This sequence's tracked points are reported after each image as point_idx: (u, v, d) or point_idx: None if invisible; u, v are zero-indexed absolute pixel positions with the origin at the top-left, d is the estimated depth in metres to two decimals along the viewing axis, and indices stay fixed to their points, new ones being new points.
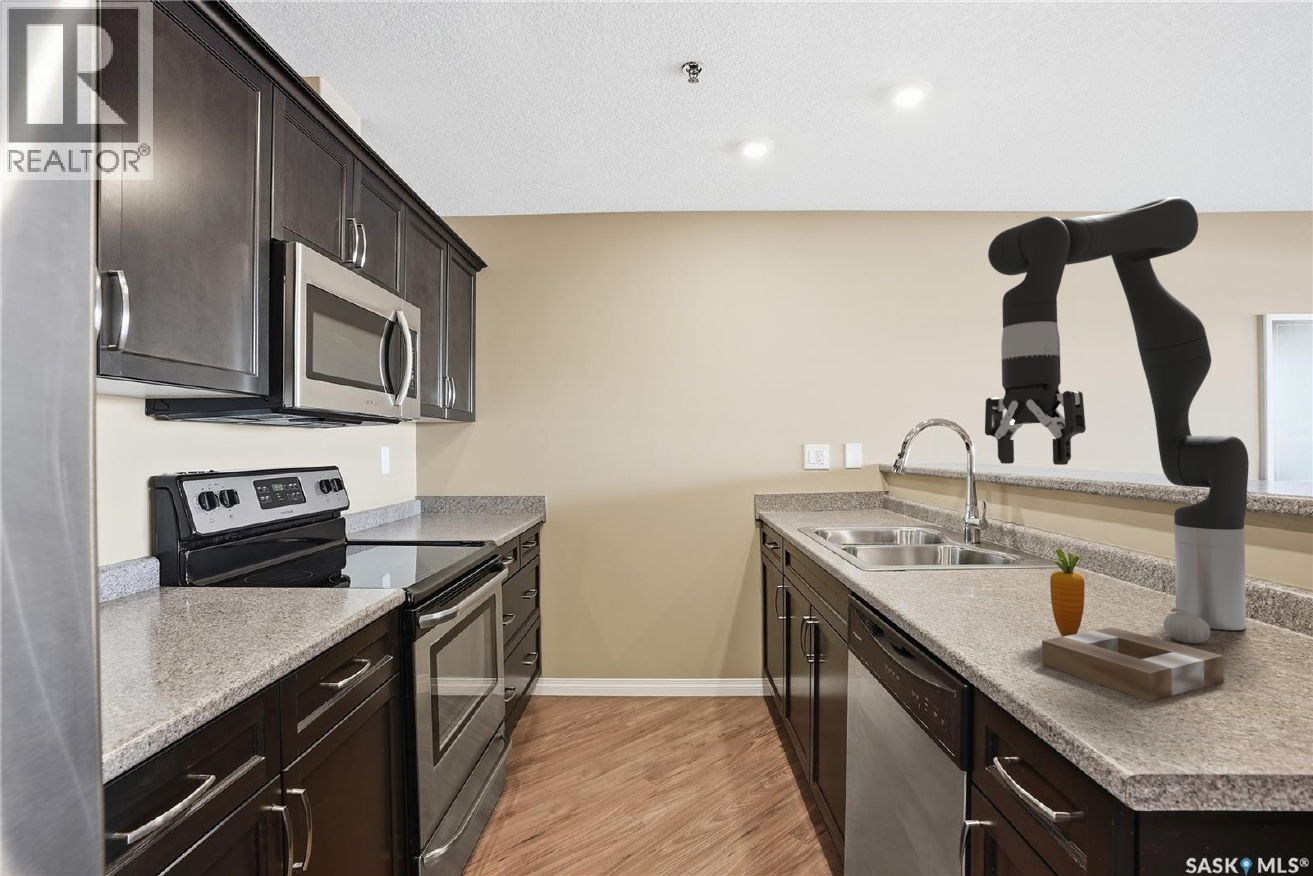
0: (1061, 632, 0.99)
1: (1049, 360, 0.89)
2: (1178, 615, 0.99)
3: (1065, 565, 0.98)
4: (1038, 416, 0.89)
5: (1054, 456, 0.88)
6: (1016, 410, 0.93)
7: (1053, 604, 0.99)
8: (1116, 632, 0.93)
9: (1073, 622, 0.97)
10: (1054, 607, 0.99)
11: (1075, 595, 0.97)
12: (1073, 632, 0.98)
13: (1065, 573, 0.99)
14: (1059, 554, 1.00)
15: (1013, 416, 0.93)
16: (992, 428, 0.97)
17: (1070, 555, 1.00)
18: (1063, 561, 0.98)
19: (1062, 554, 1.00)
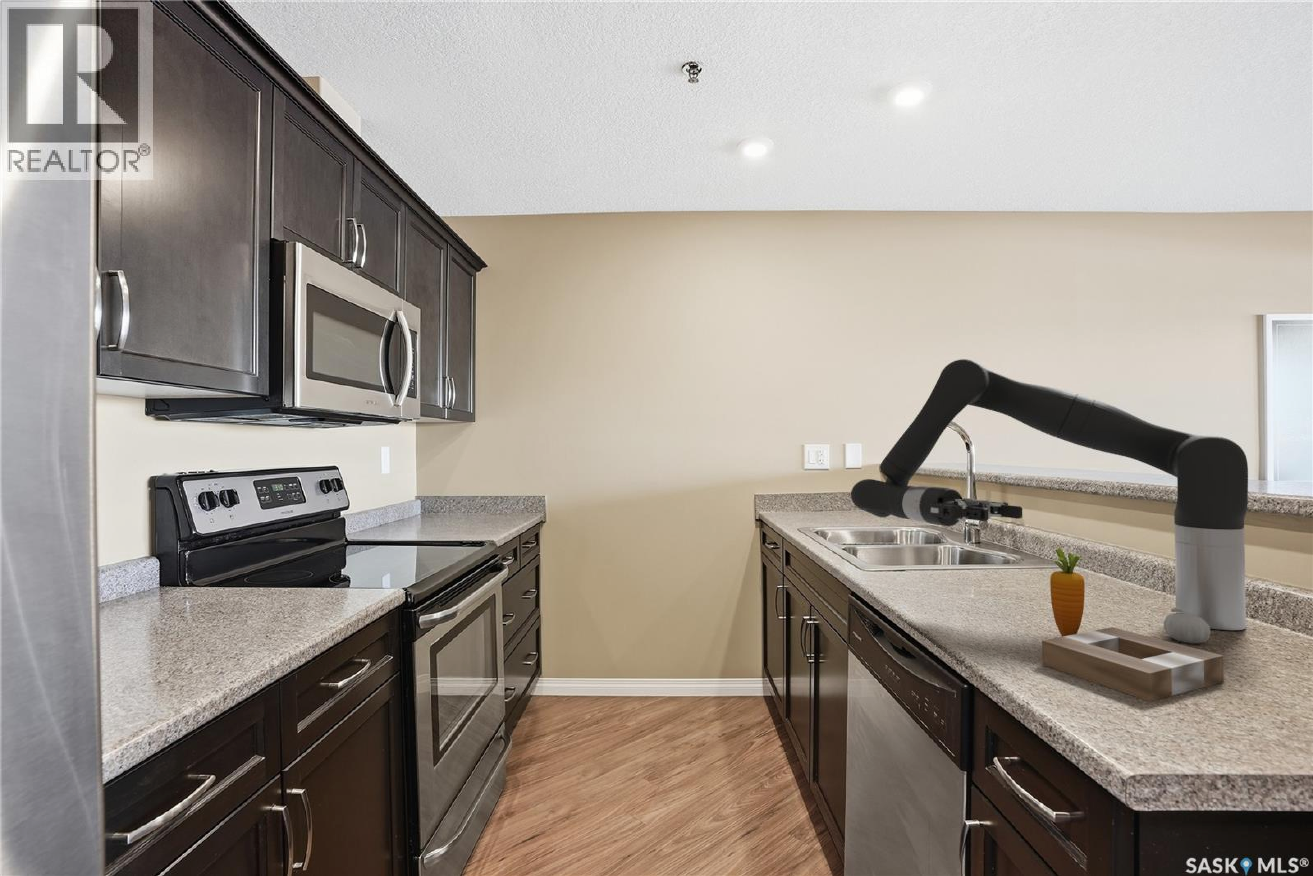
0: (1061, 632, 0.99)
1: (923, 511, 1.22)
2: (1178, 615, 0.99)
3: (1065, 565, 0.98)
4: None
5: (981, 520, 1.09)
6: None
7: (1053, 604, 0.99)
8: (1116, 632, 0.93)
9: (1073, 622, 0.97)
10: (1054, 607, 0.99)
11: (1075, 595, 0.97)
12: (1073, 632, 0.98)
13: (1065, 573, 0.99)
14: (1059, 554, 1.00)
15: None
16: None
17: (1070, 555, 1.00)
18: (1063, 561, 0.98)
19: (1062, 554, 1.00)
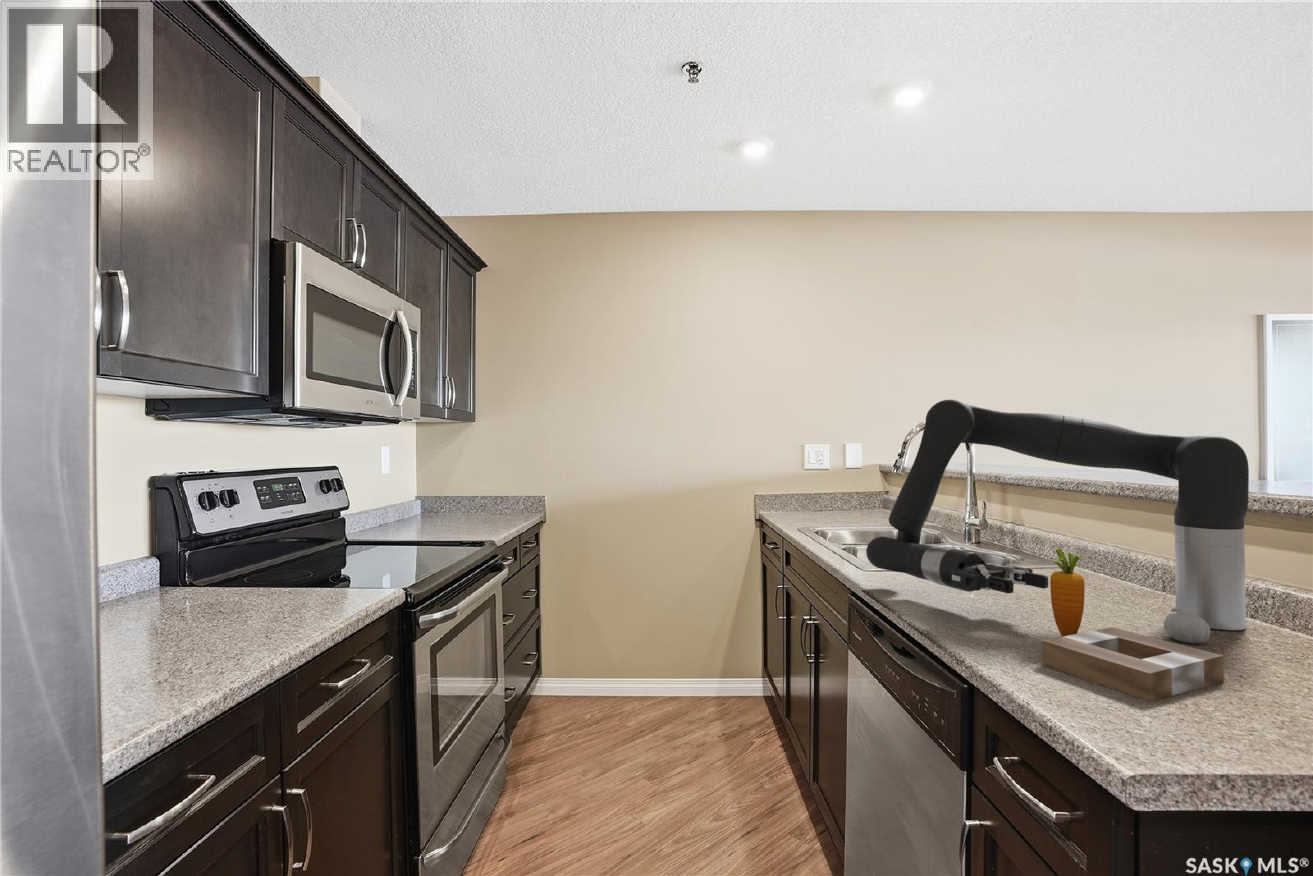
0: (1061, 632, 0.99)
1: (943, 575, 1.18)
2: (1178, 615, 0.99)
3: (1065, 565, 0.98)
4: None
5: None
6: None
7: (1053, 604, 0.99)
8: (1116, 632, 0.93)
9: (1073, 622, 0.97)
10: (1054, 607, 0.99)
11: (1075, 595, 0.97)
12: (1073, 632, 0.98)
13: (1065, 573, 0.99)
14: (1059, 554, 1.00)
15: None
16: None
17: (1070, 555, 1.00)
18: (1063, 561, 0.98)
19: (1062, 554, 1.00)
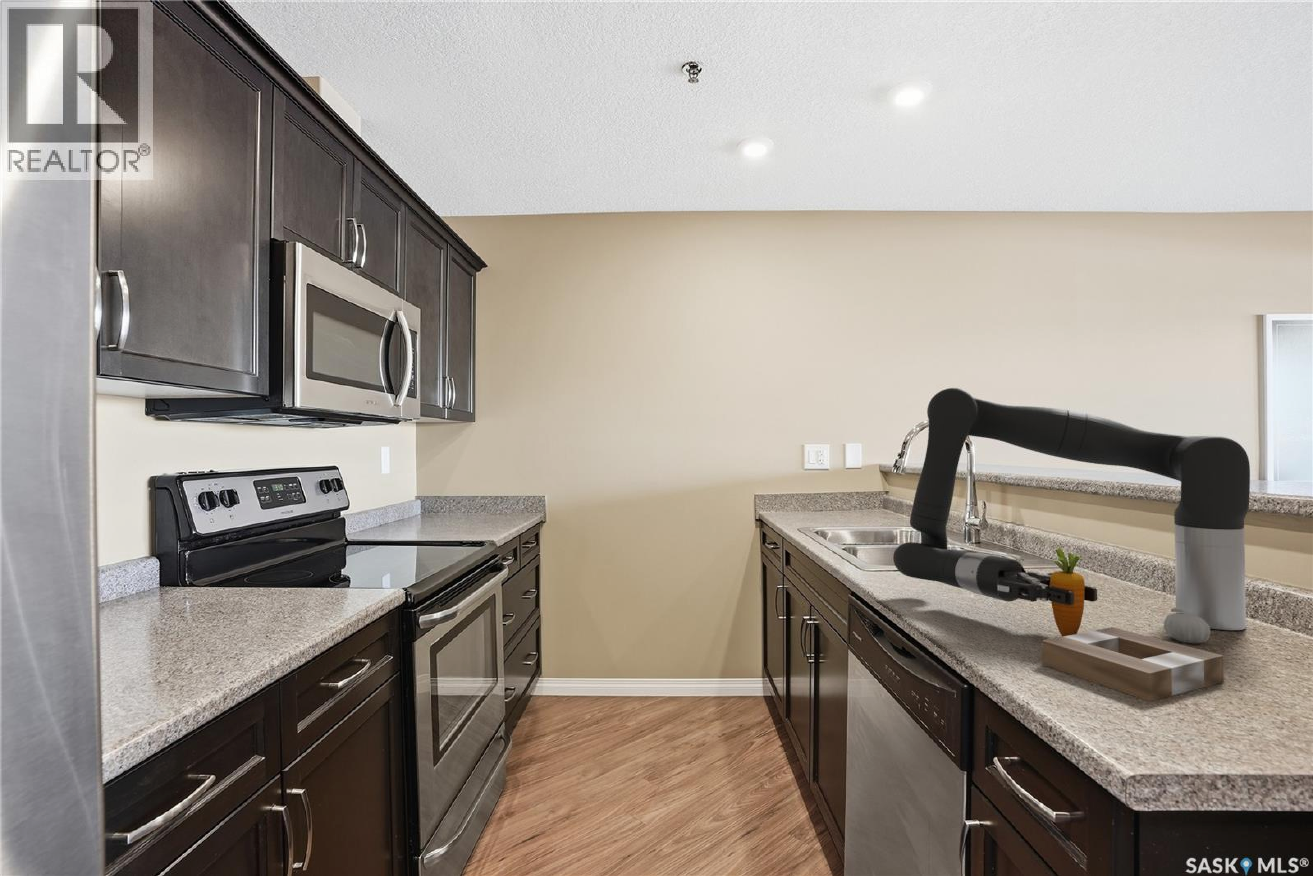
0: (1061, 632, 0.99)
1: (980, 583, 1.10)
2: (1178, 615, 0.99)
3: (1065, 565, 0.98)
4: None
5: (1065, 603, 0.97)
6: None
7: (1053, 604, 0.99)
8: (1116, 632, 0.93)
9: (1073, 622, 0.97)
10: (1054, 607, 0.99)
11: (1075, 595, 0.97)
12: (1073, 632, 0.98)
13: (1065, 573, 0.99)
14: (1059, 554, 1.00)
15: None
16: None
17: (1070, 555, 0.99)
18: (1063, 561, 0.98)
19: (1062, 554, 1.00)
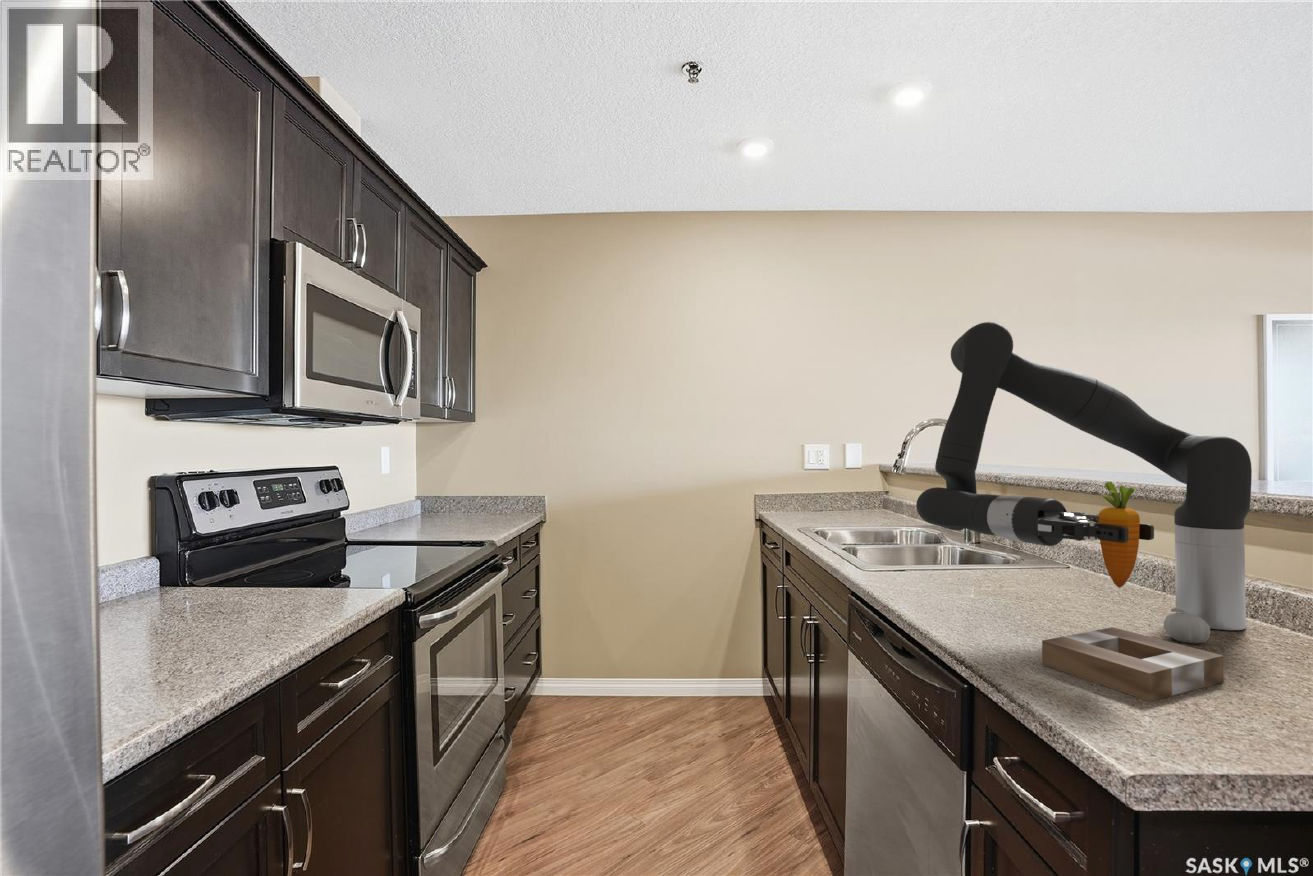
0: (1111, 575, 0.87)
1: (1016, 527, 0.98)
2: (1178, 615, 0.99)
3: (1117, 499, 0.87)
4: None
5: (1117, 541, 0.85)
6: None
7: (1102, 544, 0.88)
8: (1116, 632, 0.93)
9: (1126, 562, 0.86)
10: (1104, 547, 0.88)
11: (1129, 531, 0.85)
12: (1125, 575, 0.86)
13: (1117, 508, 0.87)
14: (1109, 488, 0.88)
15: None
16: None
17: (1122, 488, 0.88)
18: (1115, 494, 0.86)
19: (1113, 487, 0.88)
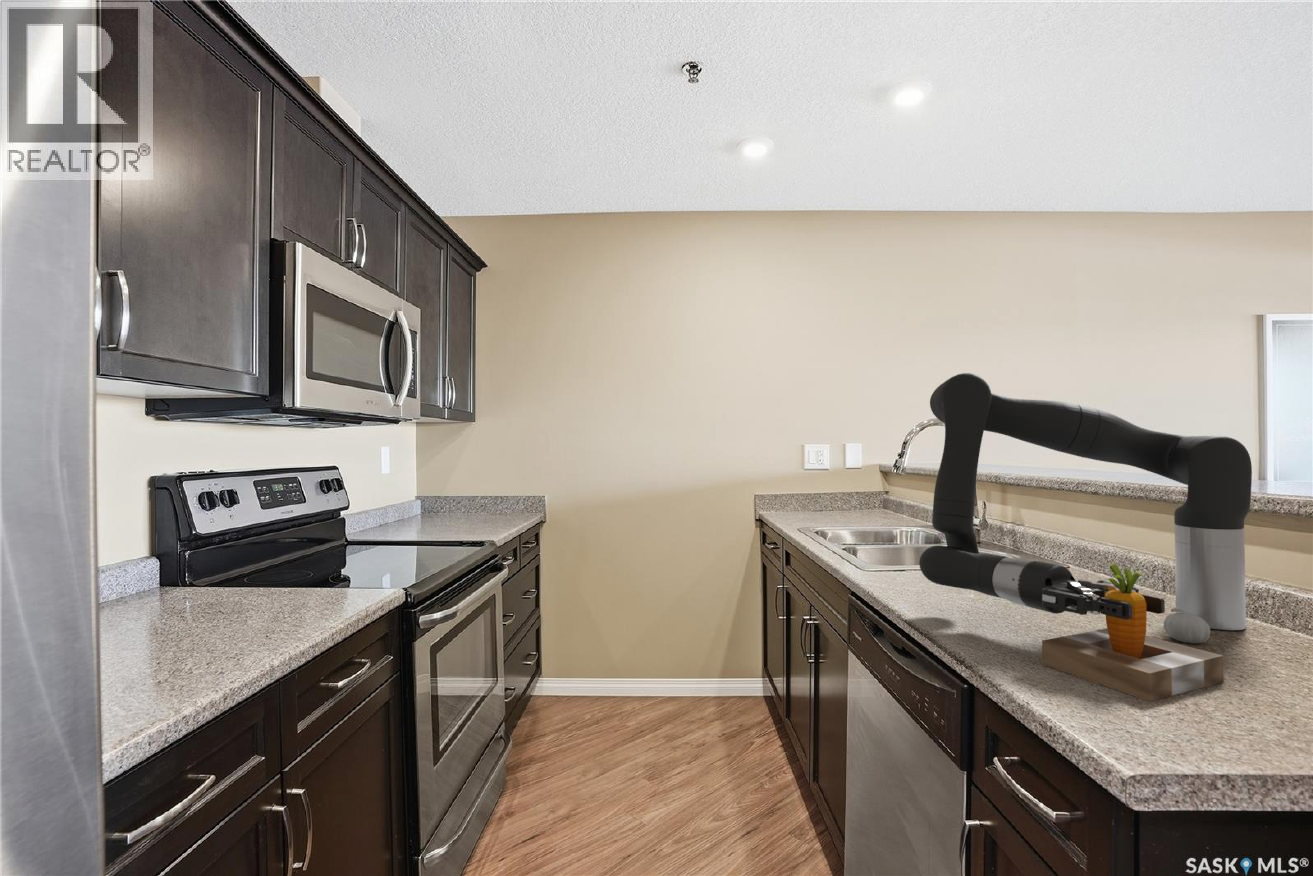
0: None
1: (1023, 593, 0.97)
2: (1178, 615, 0.99)
3: (1123, 583, 0.86)
4: None
5: (1121, 617, 0.84)
6: None
7: (1109, 628, 0.86)
8: None
9: (1134, 649, 0.84)
10: (1111, 632, 0.86)
11: (1136, 618, 0.84)
12: None
13: (1123, 593, 0.86)
14: (1114, 570, 0.87)
15: None
16: None
17: (1127, 572, 0.87)
18: (1120, 579, 0.85)
19: (1118, 570, 0.87)
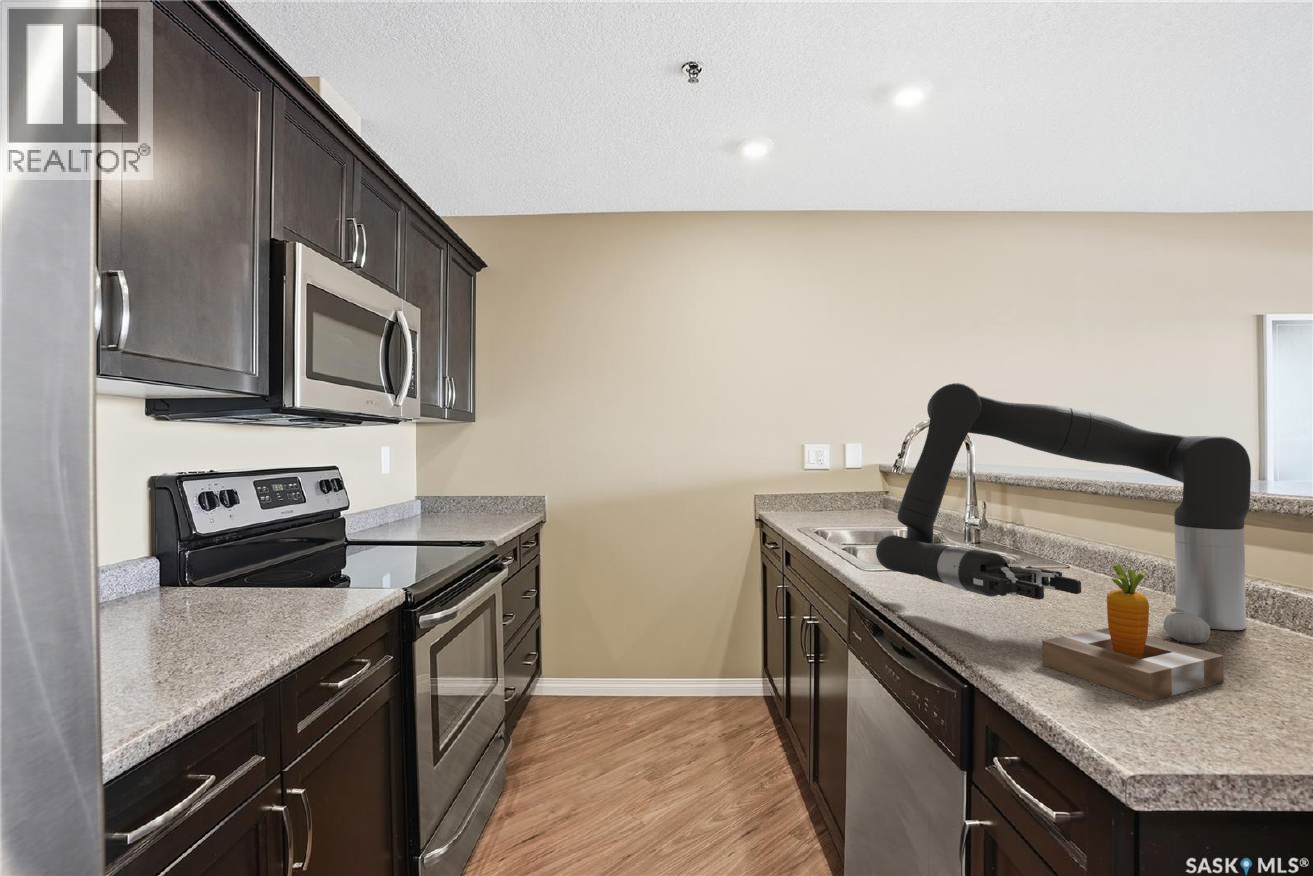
0: None
1: (962, 578, 1.08)
2: (1178, 615, 0.99)
3: (1126, 584, 0.85)
4: None
5: (1035, 598, 0.95)
6: None
7: (1111, 628, 0.86)
8: None
9: (1135, 649, 0.84)
10: (1112, 632, 0.86)
11: (1138, 619, 0.84)
12: None
13: (1126, 593, 0.85)
14: (1118, 571, 0.87)
15: None
16: None
17: (1131, 572, 0.86)
18: (1124, 580, 0.85)
19: (1121, 571, 0.87)
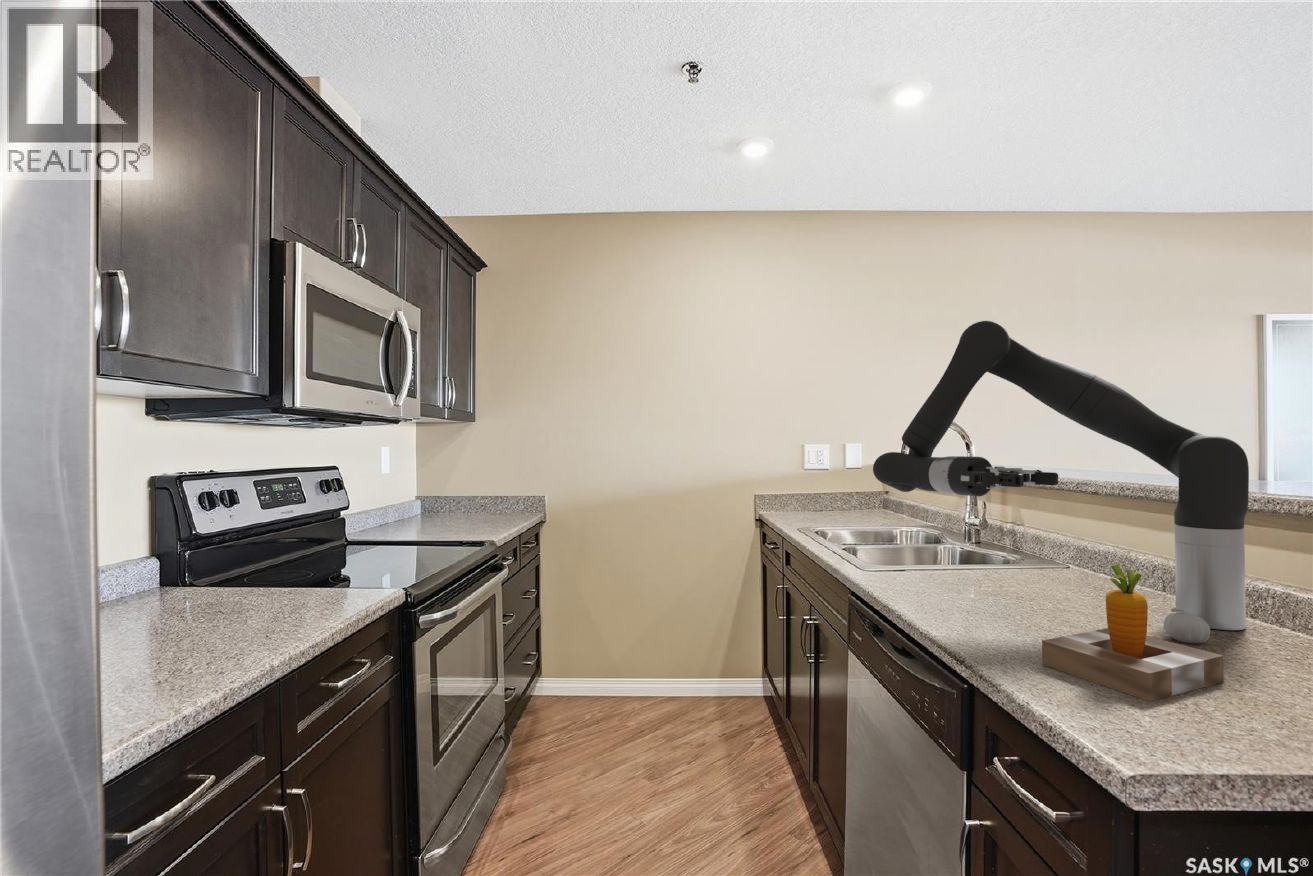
0: None
1: (951, 481, 1.17)
2: (1178, 615, 0.99)
3: (1124, 584, 0.85)
4: None
5: (1015, 486, 1.04)
6: (1002, 486, 1.12)
7: (1110, 628, 0.86)
8: None
9: (1134, 649, 0.84)
10: (1111, 632, 0.86)
11: (1137, 618, 0.84)
12: None
13: (1124, 593, 0.86)
14: (1116, 571, 0.87)
15: None
16: None
17: (1129, 572, 0.86)
18: (1122, 579, 0.85)
19: (1120, 571, 0.87)
